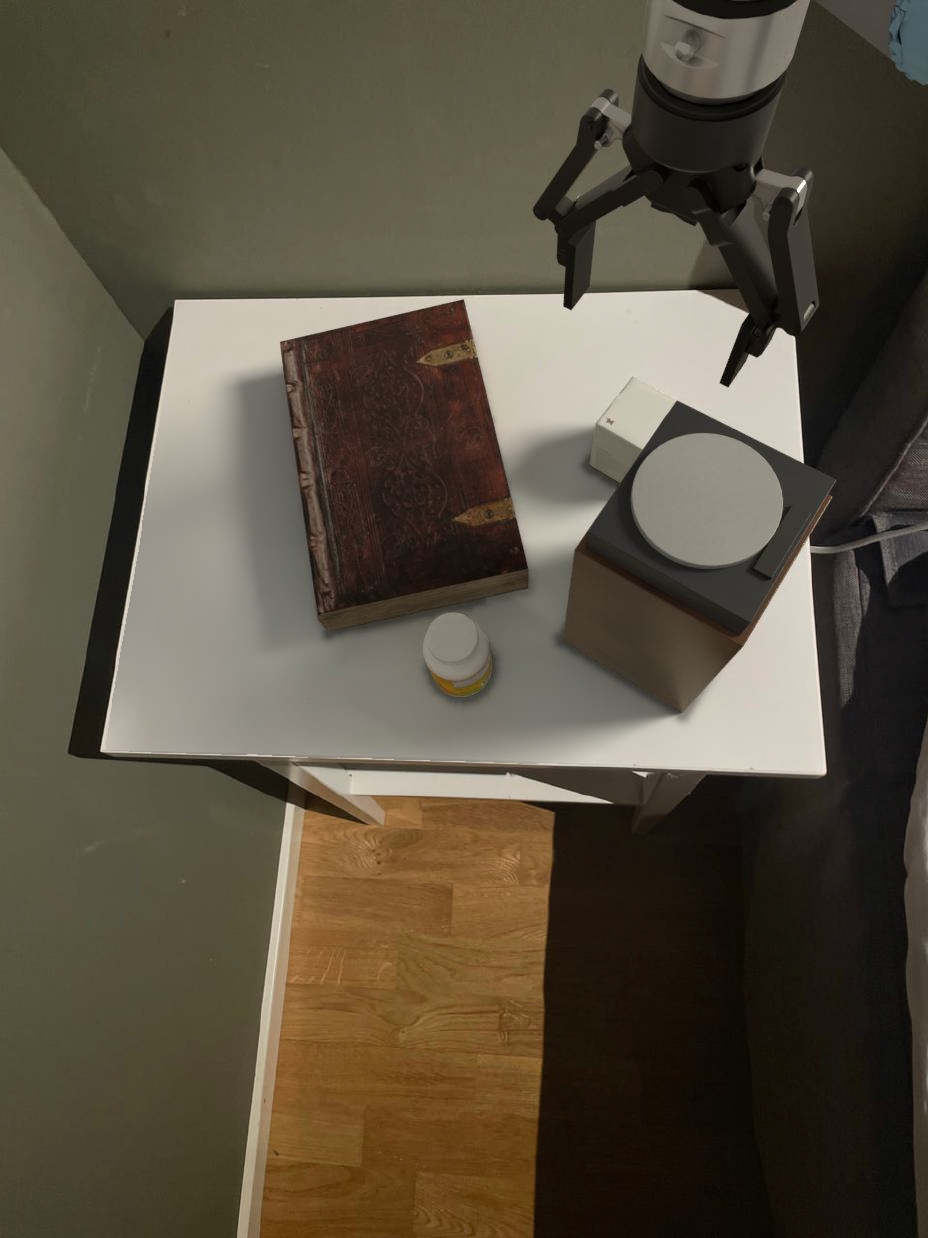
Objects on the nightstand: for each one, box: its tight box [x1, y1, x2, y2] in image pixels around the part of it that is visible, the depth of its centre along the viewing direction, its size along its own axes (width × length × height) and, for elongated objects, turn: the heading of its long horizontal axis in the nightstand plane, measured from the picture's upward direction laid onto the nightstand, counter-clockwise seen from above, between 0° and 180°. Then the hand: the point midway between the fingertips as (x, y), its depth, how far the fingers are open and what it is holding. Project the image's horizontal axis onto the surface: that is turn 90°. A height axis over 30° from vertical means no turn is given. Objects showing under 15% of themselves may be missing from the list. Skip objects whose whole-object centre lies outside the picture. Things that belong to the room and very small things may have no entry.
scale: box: [585, 399, 837, 635], centre depth 49 cm, size 11×11×3 cm
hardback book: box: [279, 298, 530, 632], centre depth 73 cm, size 29×19×5 cm, turn 11°
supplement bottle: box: [422, 611, 493, 698], centre depth 64 cm, size 5×5×10 cm
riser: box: [562, 416, 833, 713], centre depth 60 cm, size 12×12×20 cm
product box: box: [589, 376, 678, 484], centre depth 71 cm, size 6×6×7 cm
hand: (652, 333), depth 60 cm, fingers open, 13 cm apart
